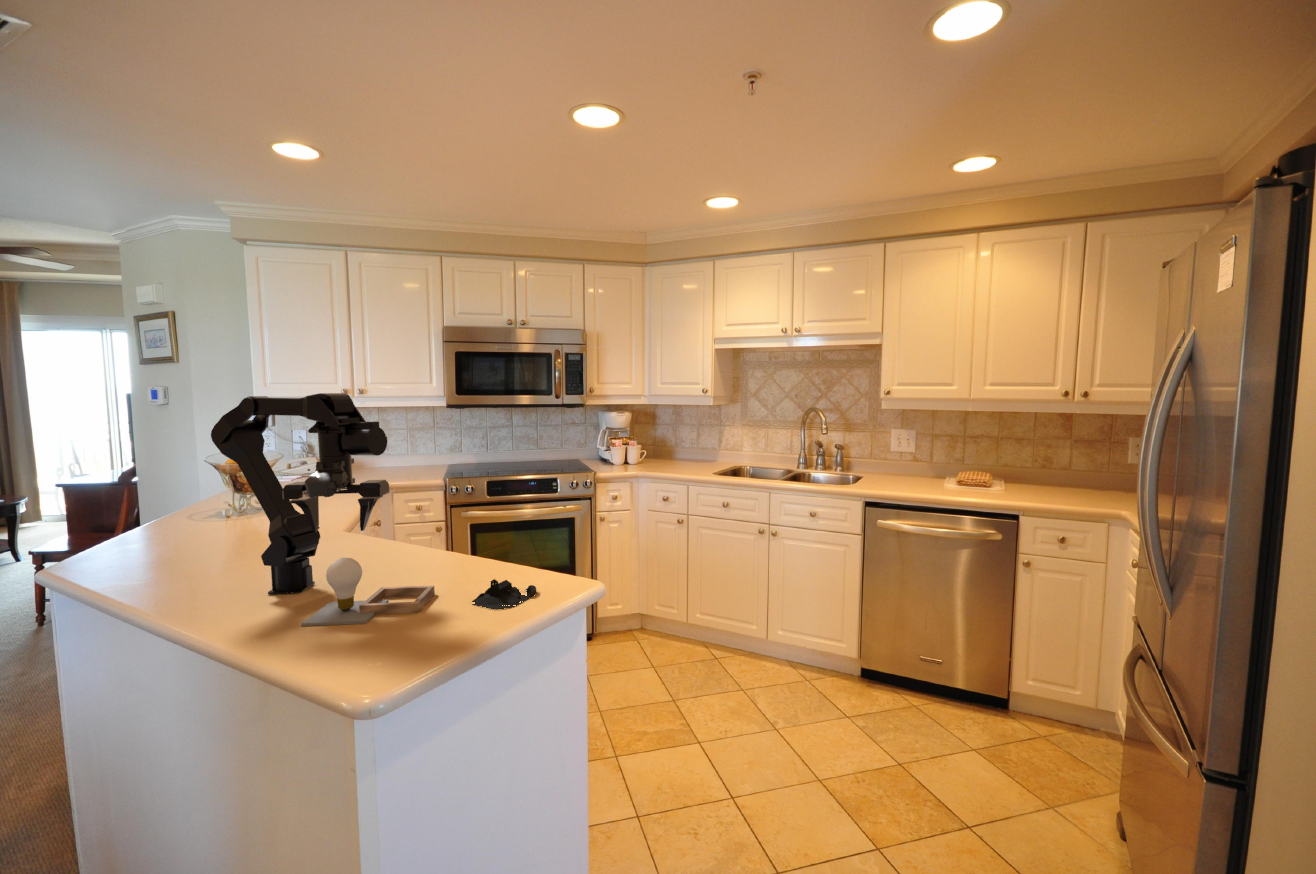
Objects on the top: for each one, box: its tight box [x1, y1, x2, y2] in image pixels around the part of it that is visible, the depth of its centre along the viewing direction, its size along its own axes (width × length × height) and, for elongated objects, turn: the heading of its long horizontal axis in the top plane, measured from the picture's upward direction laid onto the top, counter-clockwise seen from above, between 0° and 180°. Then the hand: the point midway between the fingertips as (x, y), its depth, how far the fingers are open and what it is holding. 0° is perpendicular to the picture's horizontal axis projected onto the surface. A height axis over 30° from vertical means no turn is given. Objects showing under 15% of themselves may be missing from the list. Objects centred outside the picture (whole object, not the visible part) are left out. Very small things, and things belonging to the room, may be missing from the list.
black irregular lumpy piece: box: [471, 578, 537, 610], centre depth 118 cm, size 12×10×5 cm
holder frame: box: [359, 584, 436, 616], centre depth 115 cm, size 10×10×2 cm
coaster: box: [300, 599, 390, 627], centre depth 111 cm, size 11×11×1 cm
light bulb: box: [325, 557, 363, 611], centre depth 110 cm, size 6×6×10 cm
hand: (339, 531), depth 121 cm, fingers open, 9 cm apart
